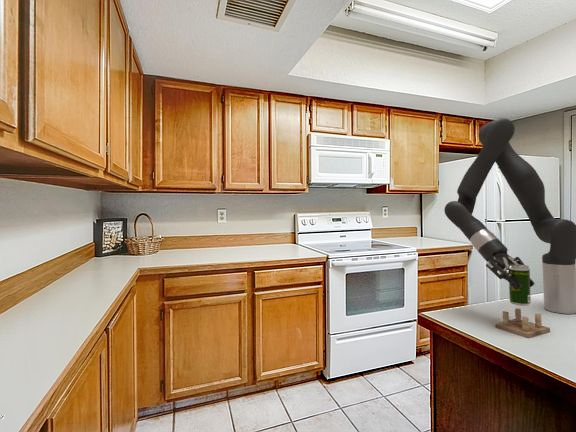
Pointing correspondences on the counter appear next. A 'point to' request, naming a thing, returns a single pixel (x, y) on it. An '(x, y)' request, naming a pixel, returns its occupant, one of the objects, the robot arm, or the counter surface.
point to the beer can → (523, 276)
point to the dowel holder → (522, 325)
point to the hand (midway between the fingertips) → (525, 286)
